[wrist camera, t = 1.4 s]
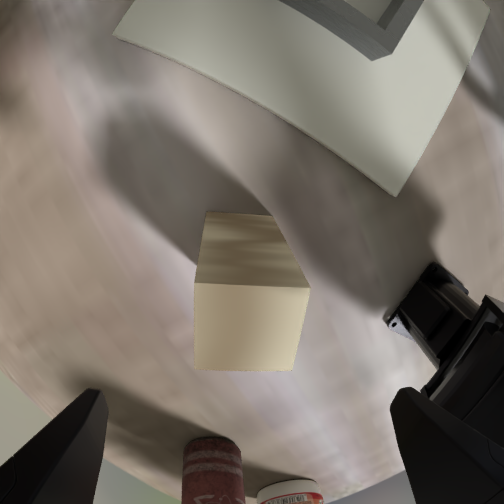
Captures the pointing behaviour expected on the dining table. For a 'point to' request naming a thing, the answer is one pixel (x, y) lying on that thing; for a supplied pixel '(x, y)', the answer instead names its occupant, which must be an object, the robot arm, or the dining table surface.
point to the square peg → (247, 296)
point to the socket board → (323, 70)
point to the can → (212, 472)
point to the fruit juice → (291, 493)
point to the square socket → (361, 23)
